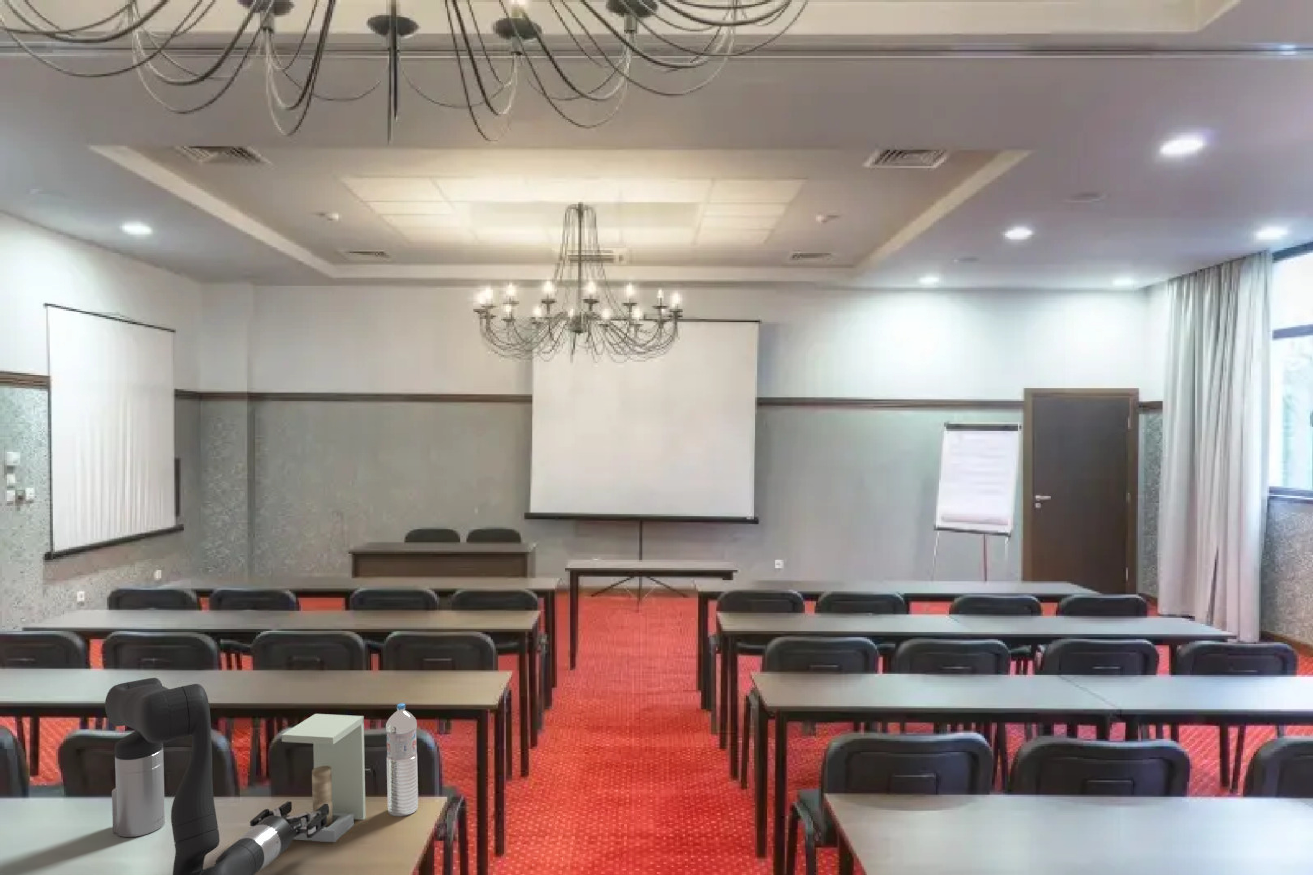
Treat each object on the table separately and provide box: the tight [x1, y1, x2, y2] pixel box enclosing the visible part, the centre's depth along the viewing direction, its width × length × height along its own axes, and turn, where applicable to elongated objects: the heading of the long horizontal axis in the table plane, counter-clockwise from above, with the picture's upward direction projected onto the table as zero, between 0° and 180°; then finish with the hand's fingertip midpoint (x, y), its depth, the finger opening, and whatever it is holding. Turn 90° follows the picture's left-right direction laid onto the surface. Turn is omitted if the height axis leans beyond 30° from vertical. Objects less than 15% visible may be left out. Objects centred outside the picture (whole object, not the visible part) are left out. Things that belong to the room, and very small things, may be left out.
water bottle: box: [385, 702, 419, 817], centre depth 197 cm, size 7×7×25 cm
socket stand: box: [281, 713, 366, 843], centre depth 188 cm, size 12×13×24 cm
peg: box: [311, 766, 333, 827], centre depth 187 cm, size 4×4×14 cm
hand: (308, 806), depth 181 cm, fingers open, 8 cm apart
